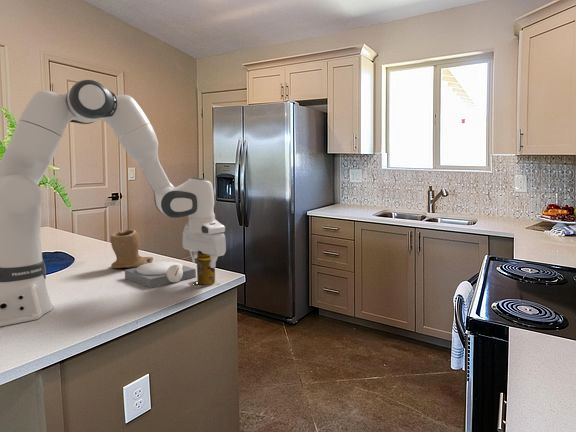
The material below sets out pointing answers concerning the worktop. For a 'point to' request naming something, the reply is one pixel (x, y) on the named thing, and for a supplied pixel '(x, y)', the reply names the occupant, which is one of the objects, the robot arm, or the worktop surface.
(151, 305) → the worktop surface
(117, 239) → the stone cup
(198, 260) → the condiment
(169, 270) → the scale
